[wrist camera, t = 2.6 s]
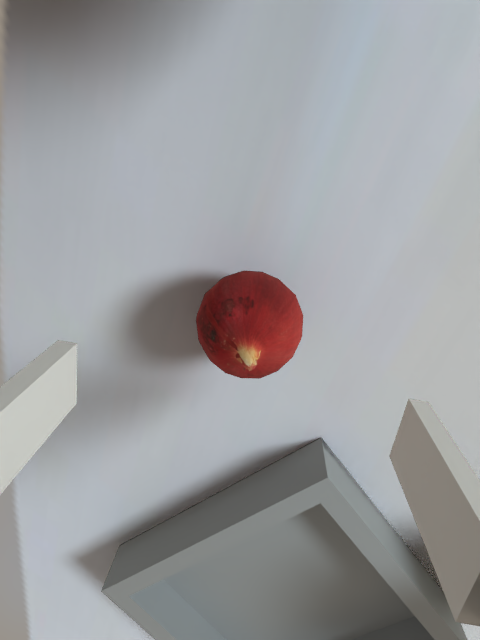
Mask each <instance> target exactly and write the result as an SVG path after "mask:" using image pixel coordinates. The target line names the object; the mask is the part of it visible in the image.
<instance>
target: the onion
mask: <svg viewBox="0 0 480 640" xmlns="http://www.w3.org/2000/svg"><path fill="white" fill-rule="evenodd" d="M196 323H197V331H198V339H199V342H200V344H201V346H202V347H203V349H204V351H205V353H206V354H207V356H208V358H209V359H210V361H211V362H212V363H214V364H215V365H216V366H217V367H219V368H220V369H221V370H223V371H224V372H225V373H227V374H231V375H234V376H237V377H240V378H262V377H264V376H267V375H269V374H272V373H274V372H276V371H278V370H279V369H280V368H281V367H282V366H283V365H284V364H286V363H287V362H288V361H289V360H290V359H291V358H292V357H293V355H294V353H295V351H296V349H297V347H298V345H299V342H300V340H301V337H302V326H303V314H302V311H301V308H300V306H299V303H298V300H297V298H296V295H295V294H294V293H293V292H292V291H291V290H290V289H289V288H287V287H286V286H285V285H284V284H283V283H282V282H281V281H280V280H279V279H277V278H275V277H273V276H270V275H268V274H266V273H264V272H256V271H241V272H238V273H235V274H232V275H229V276H226V277H224V278H222V279H221V280H220V281H219V282H218V283H217V284H216V285H214V286H213V287H212V288H211V289H210V290H209V291H208V292H207V293H205V295H204V298H203V300H202V303H201V305H200V308H199V311H198V313H197V318H196Z"/></svg>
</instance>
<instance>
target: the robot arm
mask: <svg viewBox="0 0 480 640" xmlns="http://www.w3.org/2000/svg"><path fill="white" fill-rule="evenodd" d="M76 403H77V343H72V342H66V341H60V340H58V341H57V342H55V343H54V344H53V345H52V346H50V347H49V348H48V349H47V350H45V351H44V352H43V353H42V354H40V355H39V356H38V357H37V358H35V359H34V360H33V361H32V362H30V363H29V364H28V365H27V366H25V367H24V368H23V369H22V370H20V371H19V372H18V373H17V374H16V375H14V376H13V377H12V378H11V379H9V380H8V381H7V382H6V383H4V384H3V385H2V386H1V387H0V495H1V493H2V492H3V491H4V490H5V489H6V487H7V486H8V485H9V484H10V483H11V481H12V480H13V479H14V478H15V477H16V475H17V474H18V473H19V472H20V471H21V469H22V468H23V467H24V466H25V465H26V463H27V462H28V461H29V460H30V459H31V457H32V456H33V455H34V454H35V453H36V451H37V450H38V449H39V448H40V447H41V445H42V444H43V443H44V442H45V441H46V439H47V438H48V437H49V436H50V435H51V433H52V432H53V431H54V430H55V429H56V427H57V426H58V425H59V424H60V423H61V421H62V420H63V419H64V418H65V417H66V415H67V414H68V413H69V412H70V411H71V409H72V408H73V407H74V406H75V405H76ZM390 459H391V461H392V464H393V466H394V469H395V471H396V474H397V476H398V479H399V481H400V484H401V486H402V489H403V491H404V494H405V497H406V499H407V502H408V504H409V507H410V509H411V512H412V514H413V517H414V519H415V522H416V524H417V527H418V529H419V532H420V534H421V537H422V539H423V542H424V544H425V547H426V549H427V552H428V554H429V557H430V559H431V562H432V564H433V567H434V569H435V572H436V574H437V577H438V579H439V582H440V584H441V587H442V589H443V592H444V594H445V597H446V599H447V602H448V605H449V607H450V610H451V612H452V615H453V617H454V620H455V622H459V623H464V624H470V625H476V626H480V480H479V478H478V477H477V475H476V474H475V472H474V471H473V469H472V468H471V466H470V465H469V463H468V461H467V460H466V458H465V457H464V455H463V454H462V452H461V451H460V449H459V448H458V446H457V445H456V443H455V442H454V440H453V439H452V437H451V436H450V434H449V432H448V431H447V429H446V428H445V426H444V425H443V423H442V422H441V420H440V419H439V417H438V416H437V414H436V413H435V411H434V410H433V408H432V407H431V405H430V403H429V402H426V401H420V400H414V399H408V402H407V405H406V408H405V411H404V414H403V417H402V420H401V423H400V426H399V429H398V432H397V435H396V438H395V441H394V444H393V447H392V450H391V453H390Z"/></svg>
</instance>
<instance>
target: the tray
mask: <svg viewBox="0 0 480 640" xmlns="http://www.w3.org/2000/svg"><path fill="white" fill-rule="evenodd" d="M101 592H103V593H104V594H105V595H106V596H107V597H108V598H109V599H110V600H112V601H113V602H114V603H115V604H116V605H117V606H118V607H119V608H121V609H122V610H123V611H124V612H125V613H126V614H127V615H128V616H129V617H131V618H132V619H133V620H134V621H135V622H136V623H137V624H138V625H140V626H141V627H142V628H143V629H144V630H145V631H146V632H147V633H149V634H150V635H151V636H152V637H153V638H154V639H155V640H467V638H466V635H465V633H464V630H463V628H462V625H461V623H459V622H455V620H454V617H453V615H452V612H451V610H450V607H449V605H448V602H447V599H446V597H445V594H444V592H443V591H442V590H441V589H440V587H439V586H438V585H437V583H436V582H435V581H434V580H433V578H432V577H431V576H430V575H429V573H428V572H427V571H426V570H425V568H424V567H423V566H422V564H421V563H420V562H419V561H418V559H417V558H416V557H415V556H414V554H413V553H412V552H411V551H410V549H409V548H408V547H407V545H406V544H405V543H404V542H403V540H402V539H401V538H400V537H399V535H398V534H397V533H396V532H395V530H394V529H393V528H392V526H391V525H390V524H389V523H388V521H387V520H386V519H385V518H384V516H383V515H382V514H381V513H380V511H379V510H378V509H377V507H376V506H375V505H374V504H373V502H372V501H371V500H370V499H369V497H368V496H367V495H366V494H365V492H364V491H363V490H362V488H361V487H360V486H359V485H358V483H357V482H356V481H355V480H354V478H353V477H352V476H351V475H350V473H349V472H348V471H347V469H346V468H345V467H344V466H343V464H342V463H341V462H340V461H339V459H338V458H337V457H336V456H335V454H334V453H333V452H332V450H331V449H330V448H329V447H328V445H327V444H326V443H325V442H324V440H323V439H322V438H320V439H318V440H316V441H314V442H312V443H310V444H308V445H306V446H305V447H303V448H301V449H299V450H297V451H295V452H293V453H292V454H290V455H288V456H286V457H284V458H282V459H280V460H278V461H277V462H275V463H273V464H271V465H269V466H267V467H265V468H264V469H262V470H260V471H258V472H256V473H254V474H252V475H251V476H249V477H247V478H245V479H243V480H241V481H239V482H237V483H236V484H234V485H232V486H230V487H228V488H226V489H224V490H223V491H221V492H219V493H217V494H215V495H213V496H211V497H209V498H208V499H206V500H204V501H202V502H200V503H198V504H196V505H195V506H193V507H191V508H189V509H187V510H185V511H183V512H182V513H180V514H178V515H176V516H174V517H172V518H170V519H168V520H167V521H165V522H163V523H161V524H159V525H157V526H155V527H154V528H152V529H150V530H148V531H146V532H144V533H142V534H140V535H139V536H137V537H135V538H133V539H131V540H129V541H127V542H126V543H124V544H122V545H120V546H119V549H118V551H117V554H116V556H115V559H114V561H113V564H112V566H111V569H110V571H109V573H108V576H107V578H106V581H105V583H104V586H103V588H102V591H101Z"/></svg>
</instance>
